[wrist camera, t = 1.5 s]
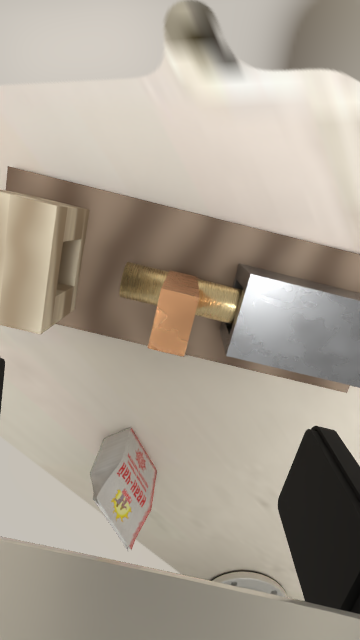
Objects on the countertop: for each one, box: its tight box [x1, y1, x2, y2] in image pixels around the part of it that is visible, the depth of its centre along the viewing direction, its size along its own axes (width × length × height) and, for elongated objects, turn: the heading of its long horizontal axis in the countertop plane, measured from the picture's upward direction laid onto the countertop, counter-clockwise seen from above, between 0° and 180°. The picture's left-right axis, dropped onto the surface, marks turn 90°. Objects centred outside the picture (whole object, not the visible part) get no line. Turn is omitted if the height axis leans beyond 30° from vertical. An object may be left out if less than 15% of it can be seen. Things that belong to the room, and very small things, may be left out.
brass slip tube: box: [119, 262, 243, 357], centre depth 27 cm, size 22×4×11 cm, turn 77°
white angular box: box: [90, 427, 157, 550], centre depth 36 cm, size 4×7×10 cm, turn 26°
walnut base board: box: [6, 167, 360, 393], centre depth 34 cm, size 38×14×2 cm, turn 77°
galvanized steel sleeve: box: [220, 263, 360, 388], centre depth 31 cm, size 14×7×7 cm, turn 76°
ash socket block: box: [0, 190, 90, 334], centre depth 29 cm, size 6×10×8 cm, turn 166°
